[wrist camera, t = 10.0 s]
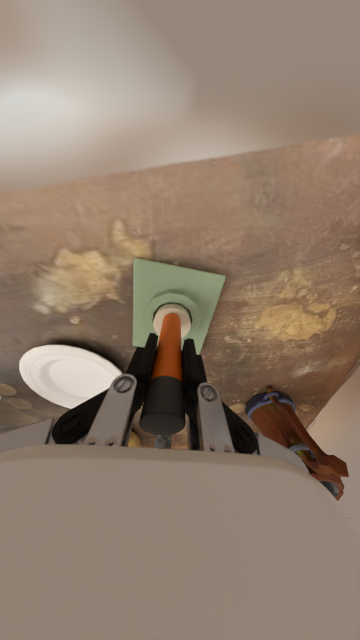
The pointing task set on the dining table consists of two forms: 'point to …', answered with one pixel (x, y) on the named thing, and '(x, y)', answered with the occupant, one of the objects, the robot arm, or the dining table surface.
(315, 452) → the mug
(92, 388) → the plate
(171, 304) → the circle pad
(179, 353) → the marker
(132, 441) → the potato
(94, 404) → the robot arm
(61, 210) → the dining table surface
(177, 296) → the push button block
